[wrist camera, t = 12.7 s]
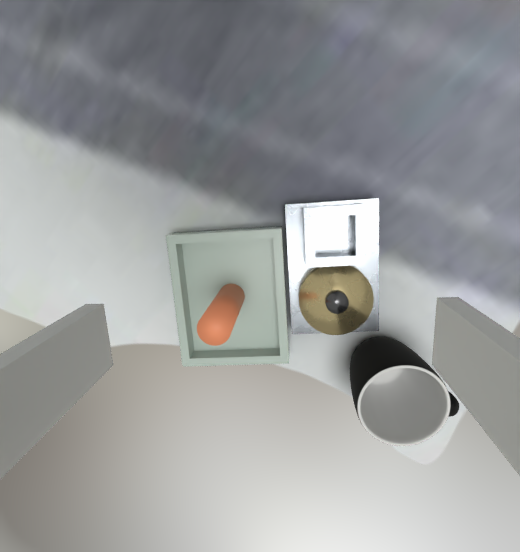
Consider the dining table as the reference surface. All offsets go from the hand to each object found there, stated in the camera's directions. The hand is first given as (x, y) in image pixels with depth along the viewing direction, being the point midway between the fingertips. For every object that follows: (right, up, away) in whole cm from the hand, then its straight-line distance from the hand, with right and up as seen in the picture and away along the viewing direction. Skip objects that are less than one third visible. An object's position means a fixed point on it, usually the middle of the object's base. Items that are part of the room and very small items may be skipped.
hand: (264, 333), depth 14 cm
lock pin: (-4, 0, +29) cm, 30 cm away
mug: (+16, -9, +31) cm, 36 cm away
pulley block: (+8, +3, +28) cm, 30 cm away
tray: (-3, 0, +30) cm, 30 cm away
